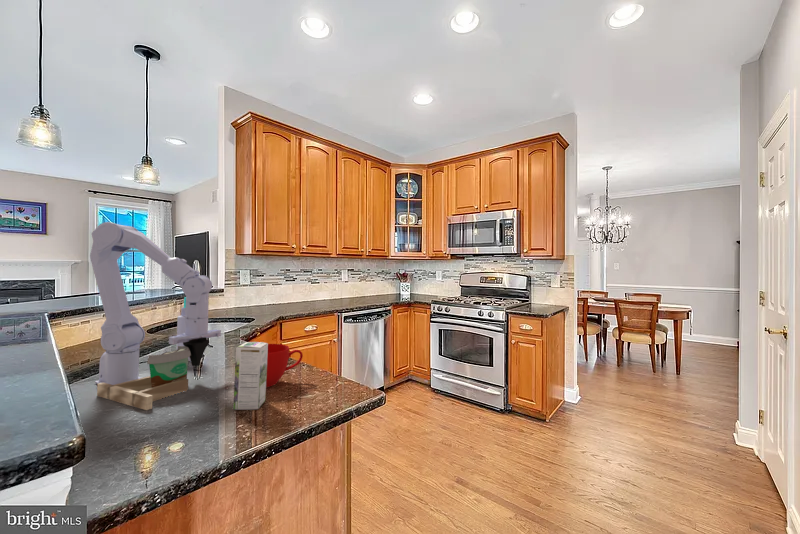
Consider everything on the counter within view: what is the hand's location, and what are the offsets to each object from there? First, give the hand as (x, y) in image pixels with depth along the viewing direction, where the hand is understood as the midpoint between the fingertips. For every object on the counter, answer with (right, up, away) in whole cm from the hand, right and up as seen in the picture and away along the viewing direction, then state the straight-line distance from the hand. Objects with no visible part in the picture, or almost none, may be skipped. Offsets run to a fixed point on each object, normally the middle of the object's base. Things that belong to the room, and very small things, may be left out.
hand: (195, 365), depth 101 cm
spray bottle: (-16, -5, +23) cm, 28 cm away
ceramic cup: (+22, -5, 0) cm, 22 cm away
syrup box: (+23, -5, -17) cm, 29 cm away
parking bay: (-5, -4, -11) cm, 13 cm away
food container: (-1, -4, -6) cm, 8 cm away
